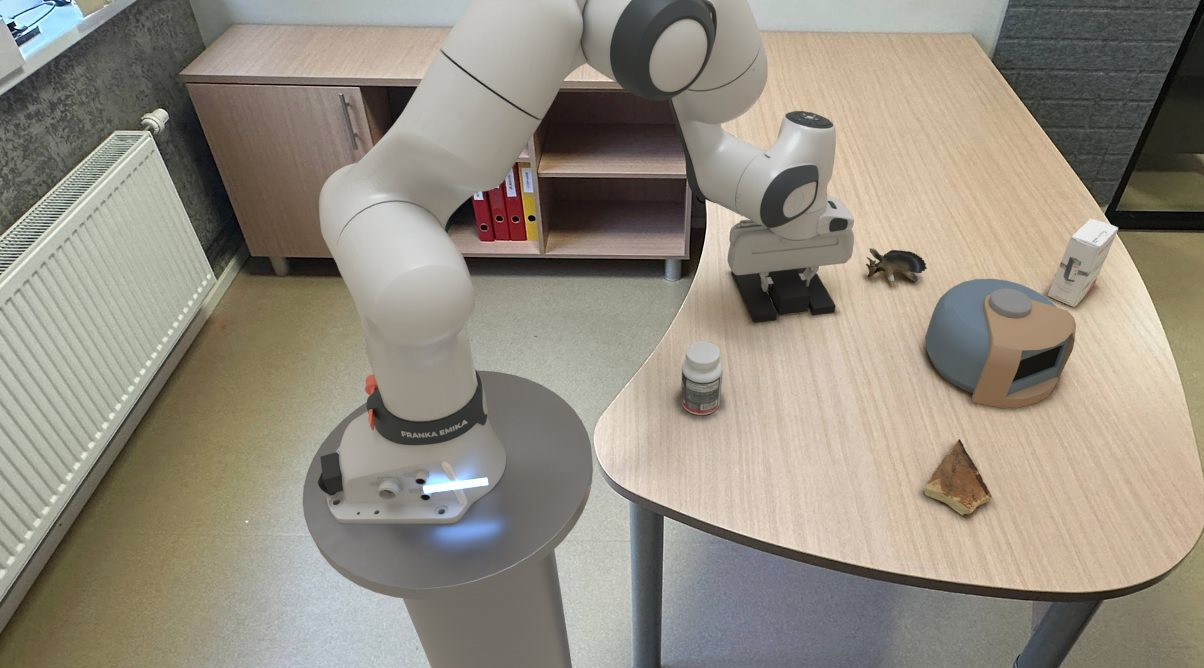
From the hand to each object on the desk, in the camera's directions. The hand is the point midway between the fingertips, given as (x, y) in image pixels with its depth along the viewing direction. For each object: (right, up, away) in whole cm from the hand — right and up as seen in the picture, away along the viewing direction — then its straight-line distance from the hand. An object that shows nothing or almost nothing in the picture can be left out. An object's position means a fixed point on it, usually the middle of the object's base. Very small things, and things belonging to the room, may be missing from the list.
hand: (785, 287), depth 131 cm
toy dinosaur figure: (+19, +2, +6) cm, 20 cm away
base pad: (0, -1, +2) cm, 3 cm away
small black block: (0, -1, +1) cm, 2 cm away
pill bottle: (-15, -19, -17) cm, 29 cm away
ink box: (+50, 0, +4) cm, 50 cm away
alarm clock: (+30, -13, -10) cm, 34 cm away
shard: (+17, -29, -27) cm, 44 cm away
